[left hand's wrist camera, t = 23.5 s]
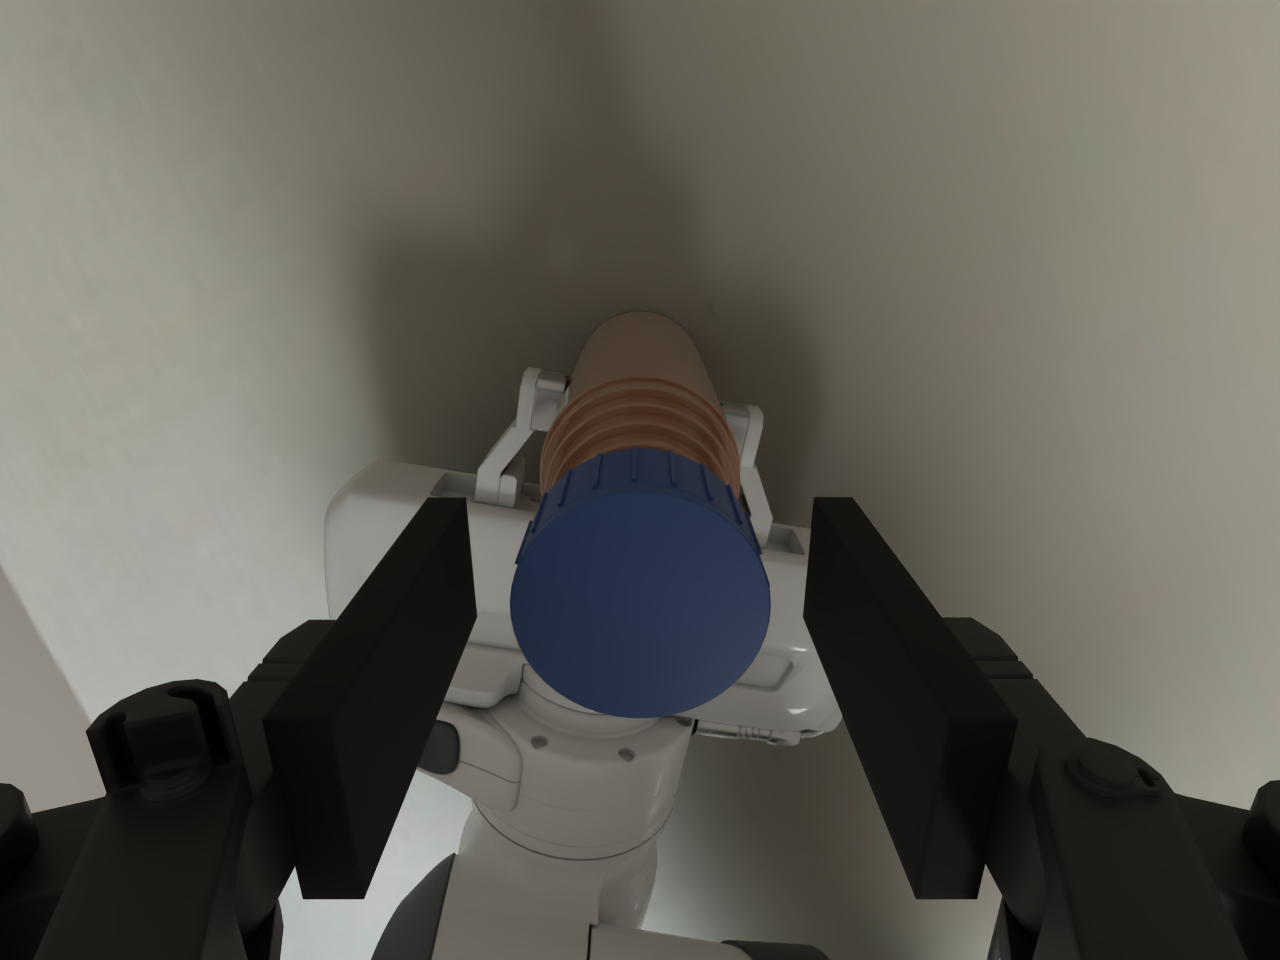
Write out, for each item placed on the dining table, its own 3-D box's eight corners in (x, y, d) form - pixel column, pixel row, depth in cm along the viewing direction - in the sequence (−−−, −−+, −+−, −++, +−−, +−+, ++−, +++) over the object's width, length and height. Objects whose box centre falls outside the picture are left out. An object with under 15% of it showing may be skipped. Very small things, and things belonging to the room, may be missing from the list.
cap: (608, 683, 16) (602, 760, 14) (480, 520, 14) (451, 576, 12) (793, 583, 15) (821, 647, 13) (677, 400, 13) (684, 435, 11)
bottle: (601, 448, 32) (555, 735, 14) (560, 334, 30) (449, 503, 13) (716, 412, 31) (813, 666, 14) (681, 294, 29) (742, 412, 12)
